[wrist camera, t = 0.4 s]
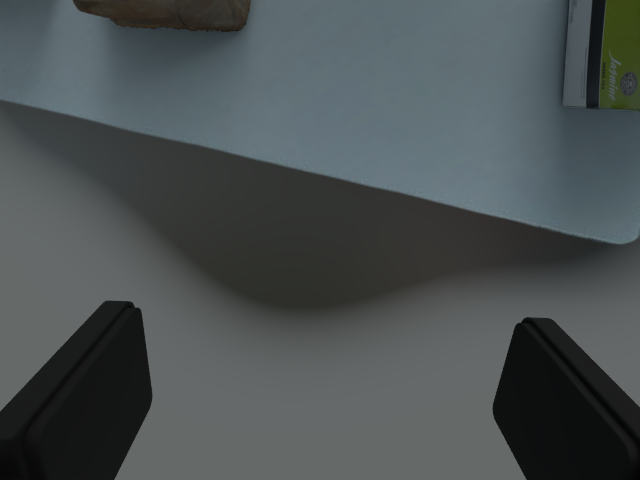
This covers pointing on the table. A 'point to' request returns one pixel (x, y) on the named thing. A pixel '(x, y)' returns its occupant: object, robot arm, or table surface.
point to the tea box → (603, 55)
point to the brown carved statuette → (171, 13)
